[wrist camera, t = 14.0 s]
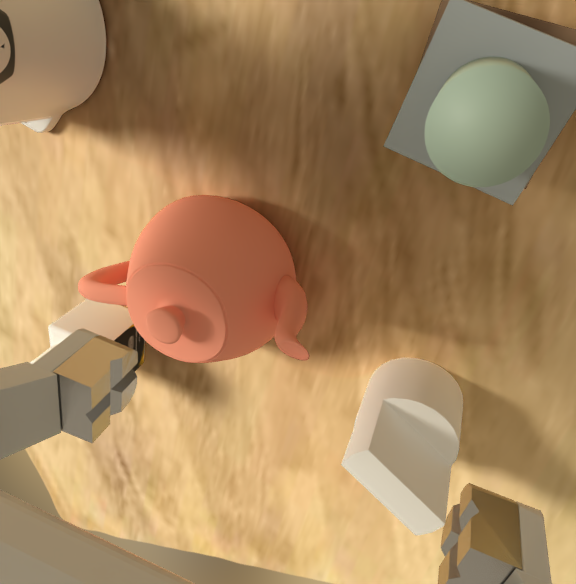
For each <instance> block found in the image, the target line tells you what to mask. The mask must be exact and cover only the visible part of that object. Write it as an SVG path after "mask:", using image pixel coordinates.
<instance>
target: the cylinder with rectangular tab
mask: <svg viewBox="0 0 576 584" xmlns="http://www.w3.org/2000/svg"><path fill="white" fill-rule="evenodd" d="M462 413H463V394H462V392H461V389H460V387H459V384H458V383H457V382H456V380H455V379H454V378H453V376H452V375H451V374H449V373H448V372H447V371H446V370H444V369H443V368H442V367H440V366H438V365H436V364H434V363H432V362H430V361H426V360H422V359H419V358H398V359H393V360H390V361H388V362H386V363H384V364H382V365H381V366H380V367H378V368H377V369H376V370H375V371H374V373H373V374H372V376H371V378H370V380H369V383H368V385H367V388H366V391H365V394H364V397H363V400H362V402H361V405H360V408H359V411H358V414H357V417H356V419H355V425H354V429H353V432H352V435H351V438H350V441H349V444H348V446H347V449H346V452H345V455H344V458H343V461H342V464H341V465H342V466H343V467H344V468H345V469H346V470H347V471H348V472H349V473H351V474H352V475H353V476H354V477H355V478H356V479H357V480H358V481H359V482H360V483H361V484H362V485H363V486H364V487H365V488H366V489H367V490H368V491H369V492H370V493H372V494H373V495H374V496H375V497H376V498H377V499H378V500H379V501H380V502H381V503H382V504H383V505H384V506H385V507H386V508H387V509H388V510H389V511H390V512H391V513H393V514H394V515H395V516H396V517H397V518H398V519H399V520H400V521H401V522H402V523H403V524H404V525H405V526H406V527H407V528H408V529H409V530H410V531H411V532H412V533H414V534H415V535H423V534H427V533H431V532H434V531H436V530H438V529H439V528H441V527H443V526H444V525H445V521H446V511H447V502H448V493H449V483H450V474H451V466H452V464H453V463H454V462H455V461H456V458H457V455H458V452H459V446H460V435H461V424H462Z"/></svg>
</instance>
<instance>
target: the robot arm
mask: <svg viewBox="0 0 576 584" xmlns="http://www.w3.org/2000/svg"><path fill="white" fill-rule="evenodd" d="M105 57H106V31H105V23H104V18H103V13H102V9H101V6H100V2H99V0H0V126H1V125H8V124H15V123H22V124H23V125H25V126H27V127H29V128H30V129H32V130H34V131H36V132H48V131H51V130H52V129H53V128H54V127H55V125H56V124H57V122H58V121H59V119H60V118H61V116H62V114H63V113H65V112H66V111H68V110H70V109H72V108H74V107H76V106H78V105H80V104H82V103H83V102H84V101H85V100H86V99H88V98H89V96H90V95H91V94H92V93H93V91H94V90H95V88H96V87H97V85H98V83H99V81H100V78H101V75H102V72H103V68H104V64H105ZM137 363H138V352H137V351H135V350H134V349H132V348H129V347H127V346H125V345H122V344H120V343H118V342H115V341H113V340H111V339H108V338H106V337H104V336H101V335H98V334H96V333H93V332H91V331H89V330H86V329H84V328H82V329H78V330H76V331H74V332H73V333H72V334H71V335H69V336H68V337H67V338H65V339H64V340H63V341H62V342H60V343H59V344H58V345H56V346H55V347H54V348H53V349H51V350H50V351H49V352H47V353H46V354H45V355H44V356H42V357H41V358H40V359H38V360H37V361H36V362H35V363H33V364H31V363H29V362H25V363H21V364H17V365H13V366H9V367H5V368H1V369H0V459H3V458H5V457H7V456H9V455H12V454H14V453H16V452H18V451H21V450H23V449H25V448H27V447H30V446H32V445H34V444H36V443H39V442H41V441H43V440H45V439H48V438H50V437H52V436H54V435H57V434H59V433H61V431H64V432H66V433H69V434H71V435H73V436H76V437H78V438H81V439H83V440H86V441H88V442H91V443H93V442H94V441H95V440H96V439H97V438H98V437H99V436H100V435H101V433H102V432H103V431H104V430H105V429H106V428H107V427H108V426H109V425H110V415H113V414H116V413H119V412H121V411H122V410H123V409H124V408H125V407H126V406H127V405H128V403H129V402H130V400H131V398H132V396H133V394H134V392H135V388H136V385H137V375H136V373H135V372H134V370H133V367H134V366H135V365H136V364H137ZM441 549H442V551H443V553H444V555H445V558H444V560H443V562H442V563H441V565H440V566H439V575H438V584H552V583H551V575H550V567H549V559H548V550H547V542H546V534H545V526H544V518H543V514H542V513H541V511H540V510H537V509H535V508H532V507H530V506H527V505H524V504H522V503H519V502H517V501H516V502H515V501H514V500H512V499H509V498H506V497H504V496H501V495H499V494H496V493H494V492H491V491H488V490H486V489H483V488H481V487H478V486H476V485H473V484H470V483H469V484H467V485H466V486H465V487H464V489H463V491H462V492H461V497H460V504H457V505H454V506H453V507H452V509H451V511H450V512H449V514H448V516H447V519H446V522H445V525H444V528H443V533H442V540H441ZM0 584H195V583H193V582H191V581H189V580H187V579H185V578H183V577H181V576H179V575H177V574H174V573H172V572H170V571H168V570H166V569H164V568H162V567H160V566H158V565H156V564H154V563H152V562H150V561H148V560H145V559H143V558H141V557H139V556H137V555H135V554H133V553H131V552H129V551H126V550H124V549H123V548H120V547H118V546H116V545H114V544H112V543H110V542H108V541H106V540H104V539H102V538H100V537H98V536H96V535H94V534H91V533H89V532H87V531H85V530H83V529H81V528H79V527H77V526H75V525H73V524H71V523H69V522H67V521H65V520H62V519H60V518H58V517H56V516H54V515H52V514H50V513H48V512H46V511H44V510H42V509H40V508H38V507H35V506H33V505H31V504H29V503H27V502H25V501H23V500H21V499H19V498H17V497H15V496H13V495H11V494H8V493H6V492H4V491H2V490H0Z"/></svg>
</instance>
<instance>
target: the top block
mask: <svg viewBox="0 0 576 584" xmlns="http://www.w3.org/2000/svg"><path fill="white" fill-rule="evenodd" d="M490 56H494V57H503V58H507V59H510V60H512V61H514V62H516V63H518V64H519V65H521V66H522V67H523V68H524V69H525V70H526V71H527V72H528V73H529V75H530V76H531V77H532V79H533V80H534V81H535V83H536V84H537V85H538V87H539V88H540V89H541V91H542V92H543V94H544V96H545V98H546V101H547V104H548V107H549V113H550V127H549V133H548V137H547V140H546V143H545V145H544V147H543V149H542V151H541V153H540V154H539V156H538V157H537V159H536V160H535V161H534V162H533V163H532V164H531V166H530V167H529V168H527V169H526V170H525V171H524V172H523V173H521V174H520V175H518V176H517V177H515V178H513V179H512V180H510V181H507V182H505V183H502V184H499V185H495V186H490V187H473V188H476V189H478V190H480V191H482V192H484V193H486V194H489V195H491V196H493V197H495V198H497V199H500V200H502V201H504V202H506V203H508V204H510V205H513V204H514V203H515V201H516V200H517V198H518V197H519V195H520V194H521V192H522V191H523V189H524V188H525V186H526V184H527V183H528V181H529V180H530V178H531V177H532V175H533V174H534V172H535V171H536V169H537V168H538V166H539V164H540V163H541V161H542V160H543V158H544V157H545V155H546V154H547V152H548V151H549V149H550V148H551V146H552V145H553V143H554V141H555V140H556V138H557V137H558V135H559V134H560V132H561V131H562V129H563V128H564V126H565V125H566V123H567V121H568V120H569V118H570V117H571V115H572V114H573V112H574V111H575V109H576V46H575V45H573V44H570V43H568V42H565V41H563V40H561V39H558V38H556V37H553V36H551V35H548V34H546V33H544V32H541V31H539V30H536V29H534V28H531V27H529V26H527V25H524V24H522V23H519V22H517V21H514V20H512V19H510V18H507V17H505V16H502V15H500V14H497V13H495V12H492V11H490V10H488V9H485V8H483V7H480V6H478V5H475V4H473V3H471V2H468V1H466V0H449V2H448V5H447V7H446V9H445V11H444V14H443V16H442V18H441V20H440V22H439V25H438V27H437V29H436V31H435V33H434V36H433V38H432V40H431V42H430V44H429V47H428V49H427V51H426V53H425V56H424V58H423V60H422V62H421V64H420V67H419V69H418V71H417V73H416V75H415V78H414V80H413V82H412V84H411V86H410V89H409V91H408V93H407V95H406V98H405V100H404V102H403V104H402V106H401V109H400V111H399V113H398V115H397V117H396V120H395V122H394V124H393V126H392V129H391V131H390V133H389V135H388V137H387V140H386V142H385V144H384V147H386V148H388V149H390V150H392V151H395V152H397V153H399V154H401V155H403V156H406V157H408V158H410V159H412V160H414V161H417V162H419V163H421V164H423V165H425V166H427V167H430V168H432V169H434V170H436V171H438V172H440V171H439V170H438V169H437V168H436V166H435V165H434V164H433V162H432V160H431V159H430V157H429V154H428V152H427V148H426V145H425V122H426V118H427V115H428V112H429V110H430V107H431V105H432V103H433V102H434V100H435V98H436V97H437V95H438V93H439V92H440V90H441V88H442V87H443V85H444V84H445V82H446V81H447V79H448V78H449V77H450V76H451V75H452V74H453V73H454V72H455V71H456V70H457V69H458V68H460V67H461V66H463V65H464V64H466V63H468V62H470V61H473V60H475V59H478V58H483V57H490Z"/></svg>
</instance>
